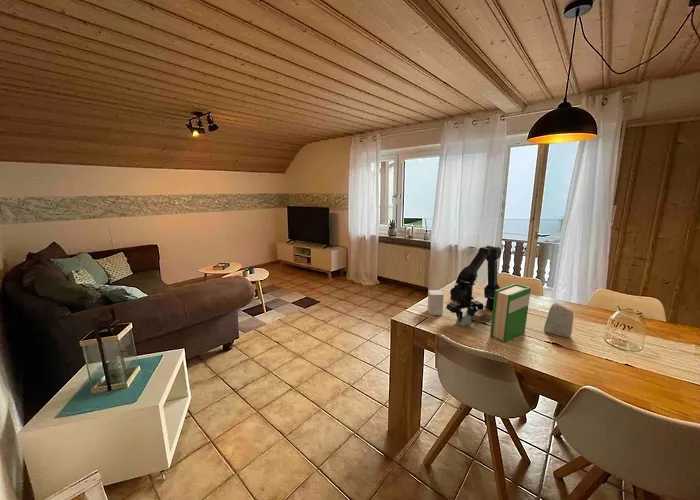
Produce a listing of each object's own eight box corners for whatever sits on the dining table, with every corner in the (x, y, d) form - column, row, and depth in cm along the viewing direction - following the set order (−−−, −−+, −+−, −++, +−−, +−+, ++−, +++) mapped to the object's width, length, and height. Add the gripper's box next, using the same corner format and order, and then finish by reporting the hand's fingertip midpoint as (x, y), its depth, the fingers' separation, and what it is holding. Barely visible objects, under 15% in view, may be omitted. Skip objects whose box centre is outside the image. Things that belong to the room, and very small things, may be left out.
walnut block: (479, 313, 164) (479, 307, 163) (490, 320, 155) (491, 313, 154) (465, 315, 161) (466, 309, 160) (477, 322, 153) (477, 316, 152)
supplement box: (439, 310, 168) (441, 290, 165) (442, 315, 161) (444, 294, 158) (427, 309, 169) (428, 289, 166) (429, 315, 162) (430, 294, 159)
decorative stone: (572, 336, 138) (577, 307, 135) (568, 340, 134) (573, 311, 131) (546, 327, 146) (550, 300, 143) (542, 331, 142) (546, 303, 139)
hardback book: (504, 343, 132) (510, 295, 127) (489, 336, 138) (494, 290, 133) (524, 332, 141) (530, 287, 136) (509, 326, 148) (515, 283, 142)
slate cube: (464, 320, 154) (465, 312, 153) (470, 324, 150) (471, 316, 149) (456, 321, 153) (457, 313, 152) (462, 325, 149) (463, 317, 148)
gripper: (471, 287, 158) (469, 312, 161) (441, 290, 153) (440, 316, 157) (485, 294, 147) (482, 321, 151) (453, 298, 143) (451, 326, 146)
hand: (463, 321), depth 151 cm, fingers closed on slate cube, 5 cm apart
